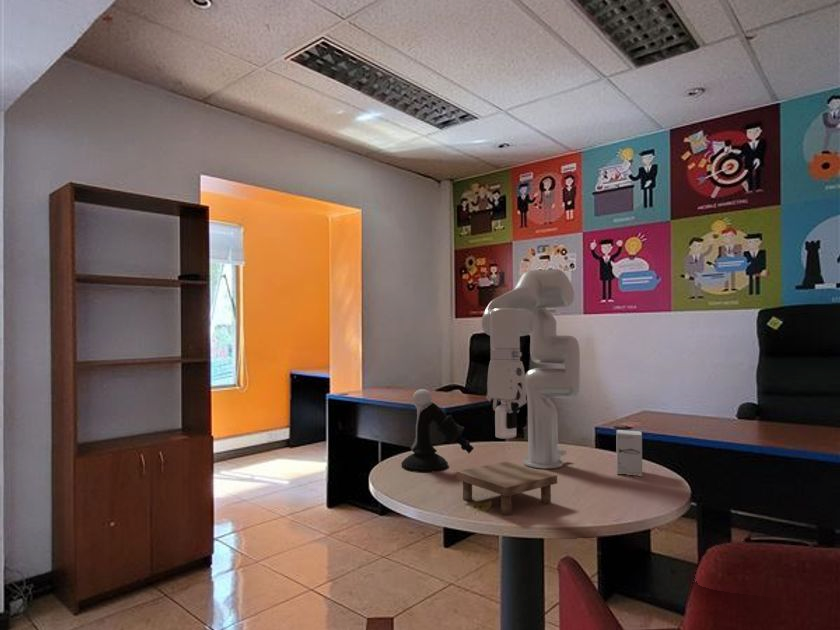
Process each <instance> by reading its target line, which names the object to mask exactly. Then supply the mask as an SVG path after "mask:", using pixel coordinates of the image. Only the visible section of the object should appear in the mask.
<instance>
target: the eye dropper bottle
mask: <svg viewBox="0 0 840 630" xmlns="http://www.w3.org/2000/svg"><path fill="white" fill-rule="evenodd" d="M501 403H502V404H501V405H499V406H497V407H496V409H495V411H494V427H495V428H494V429H495V431H494V432H495V438H498V439H500V440H501V439H502V440H503V439H513V438H515V437H517V428H512V429H507V417H506V414H507V413H509V412H508V405H507V400H501ZM513 405H514V404H512V406H513Z"/></svg>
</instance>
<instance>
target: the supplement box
mask: <svg viewBox="0 0 840 630" xmlns="http://www.w3.org/2000/svg"><path fill="white" fill-rule="evenodd" d="M615 434H616V438H615V439H616V440H615V441H616V443H615V444H616V446H615V447H616V475H617V474H629V475H642V476H643V432H642V431H639V430H626V429H624V430H623V429H616V433H615ZM629 475H628V476H629Z"/></svg>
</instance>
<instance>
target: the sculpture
mask: <svg viewBox="0 0 840 630" xmlns="http://www.w3.org/2000/svg"><path fill="white" fill-rule="evenodd" d="M412 396H413V397H412V400H413V402H414V404H415V405H414V406H415V407H416V415H417V417H416V422H415V423H416V424H415V439H414V441H413V443H412V445H411V446H410V449H411V450H412V452H413V453H411V454H410V455H408V456H407V457H405V458H404V460H403V461H402V462H401V468H402V469H403V468H404V470H405V469H406V471H409V470H410V471H409V472H413V471H417V472H416V473H431V472H432V471H436V472H439V471H440V470H441V471H444V470H446V469H448V468H449V467H448V466H449V463H448V461H447V460H446V459H445V458H444V457H443V456H441V455H439V454H437V452H438V451H437V449H436V448H435V447H434V446H433V443H432V436H431V425H432V423H433V422H434V423H435V424H436V426H437V427H436V431H438V432H439V433H441V434H442V435H444V437H445V439H446V442H447V444H448V445H450V444H453V443H454V442H456V443H458V445H460V448H461V450H462V451H466V452H467V453H468V454H470V453H471V452H472V451H473V450H474V448H475V447H474V446H473V445H471V442H470V441H469V440H466V439H465V438H464V437H463V436H462V434H463V431H464V429H465V427H464V426H463V425H459V424H458V423H456V421H455V420H454V418H453V415H452V414H448V415H447V414H446V413H445V412H444V410H443V409H441V408H440V407H439V406H438V405H437V404H436V403H435V402H433V401H432V400H433V399H432V398H433V397H432V393H431V392H430V391H429V390H427V389H425V388H421V389H417V390H416V391H415V392H414V393H413V395H412ZM441 471H440V472H441ZM432 473H433V472H432Z"/></svg>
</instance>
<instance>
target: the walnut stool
mask: <svg viewBox="0 0 840 630" xmlns="http://www.w3.org/2000/svg"><path fill="white" fill-rule="evenodd" d="M456 480H458V481H461V482H462V500H464V501H468V502H469V501H472V500H473V486H475V487H479V488H480V489H484V490H486V491H488V492H489V491H490V492H493V493H494V494H498V495H500V515H501V516H505V517H509V516H512V496H513V495H516V494H521V493H524V492H525V493H526V492H529V491H533V490H536V489H540V503H541V504H542V505H547V504H548V505H551V503H552V500H551V499H552V494H551V493H552V490H551V489H552V487H551V486H553V485H556V484H558V475H557V474H553V473H549V472H545V471H542V470H538V469H534V468H533V467H529V466H528V467H527V466H523V465H519V464H516V463H513V462H509V461H502V462H497V463H493V464H492V463H491V464H487V465H481V466H478V467H472V468H467V469H462V470H457V471H456Z"/></svg>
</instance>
